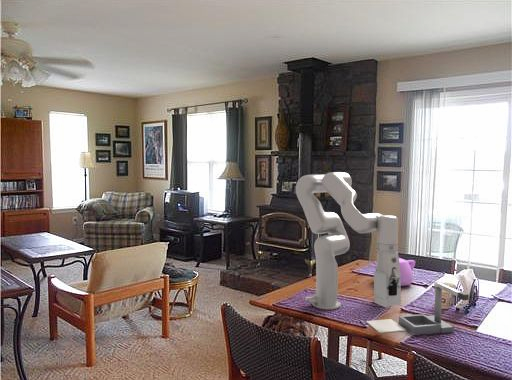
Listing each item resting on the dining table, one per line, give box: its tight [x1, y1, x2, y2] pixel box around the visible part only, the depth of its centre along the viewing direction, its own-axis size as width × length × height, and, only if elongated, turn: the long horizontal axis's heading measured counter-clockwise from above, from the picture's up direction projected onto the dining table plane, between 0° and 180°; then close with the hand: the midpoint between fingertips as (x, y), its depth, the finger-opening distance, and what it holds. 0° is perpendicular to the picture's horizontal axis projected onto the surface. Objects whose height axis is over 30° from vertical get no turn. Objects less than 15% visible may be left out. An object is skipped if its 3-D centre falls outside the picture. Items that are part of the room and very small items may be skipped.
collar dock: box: [398, 287, 455, 336], centre depth 158 cm, size 16×12×15 cm
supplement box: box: [373, 270, 402, 308], centre depth 158 cm, size 7×7×13 cm
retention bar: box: [433, 281, 470, 301], centre depth 152 cm, size 17×3×2 cm, turn 12°
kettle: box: [399, 257, 416, 287], centre depth 219 cm, size 23×21×15 cm
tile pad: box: [366, 318, 407, 334], centre depth 159 cm, size 11×11×1 cm
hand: (386, 291), depth 158 cm, fingers closed on supplement box, 8 cm apart
